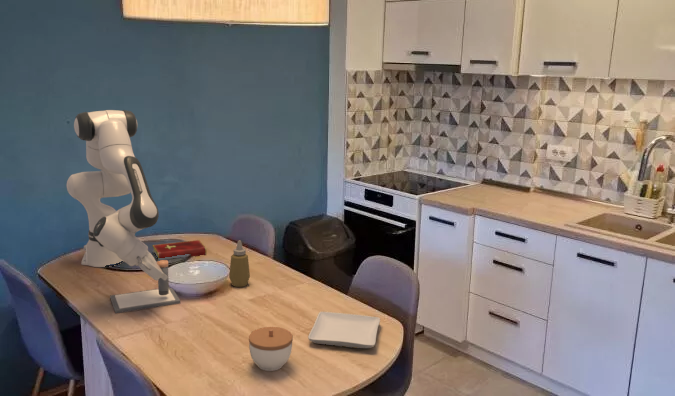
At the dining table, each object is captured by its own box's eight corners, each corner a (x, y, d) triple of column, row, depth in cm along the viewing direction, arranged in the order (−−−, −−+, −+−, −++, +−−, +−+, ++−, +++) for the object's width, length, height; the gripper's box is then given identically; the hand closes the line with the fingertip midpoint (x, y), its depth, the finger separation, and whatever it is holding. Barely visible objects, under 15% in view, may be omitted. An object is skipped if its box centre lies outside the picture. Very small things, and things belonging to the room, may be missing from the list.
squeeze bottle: (248, 289, 227) (248, 244, 223) (227, 288, 227) (226, 243, 223) (251, 281, 235) (251, 238, 230) (231, 280, 235) (231, 237, 230)
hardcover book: (206, 256, 263) (206, 247, 262) (158, 262, 253) (157, 252, 252) (199, 248, 273) (199, 239, 272) (152, 253, 263) (152, 244, 262)
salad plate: (319, 319, 204) (319, 309, 203) (380, 325, 201) (380, 316, 201) (306, 348, 184) (306, 337, 183) (374, 355, 181) (375, 345, 180)
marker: (157, 292, 213) (156, 260, 210) (168, 290, 215) (167, 259, 212) (159, 296, 210) (158, 264, 207) (170, 294, 211) (169, 262, 208)
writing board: (110, 298, 214) (110, 295, 213) (171, 289, 224) (171, 286, 223) (115, 313, 202) (115, 310, 201) (180, 303, 212) (180, 300, 211)
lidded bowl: (293, 354, 179) (293, 320, 176) (291, 376, 167) (291, 340, 164) (251, 353, 178) (251, 320, 176) (246, 375, 166) (246, 339, 164)
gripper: (147, 255, 196) (177, 279, 202) (136, 238, 213) (165, 260, 220) (133, 269, 195) (164, 293, 201) (124, 251, 212) (153, 273, 219)
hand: (164, 275), depth 211 cm, fingers closed on marker, 4 cm apart
